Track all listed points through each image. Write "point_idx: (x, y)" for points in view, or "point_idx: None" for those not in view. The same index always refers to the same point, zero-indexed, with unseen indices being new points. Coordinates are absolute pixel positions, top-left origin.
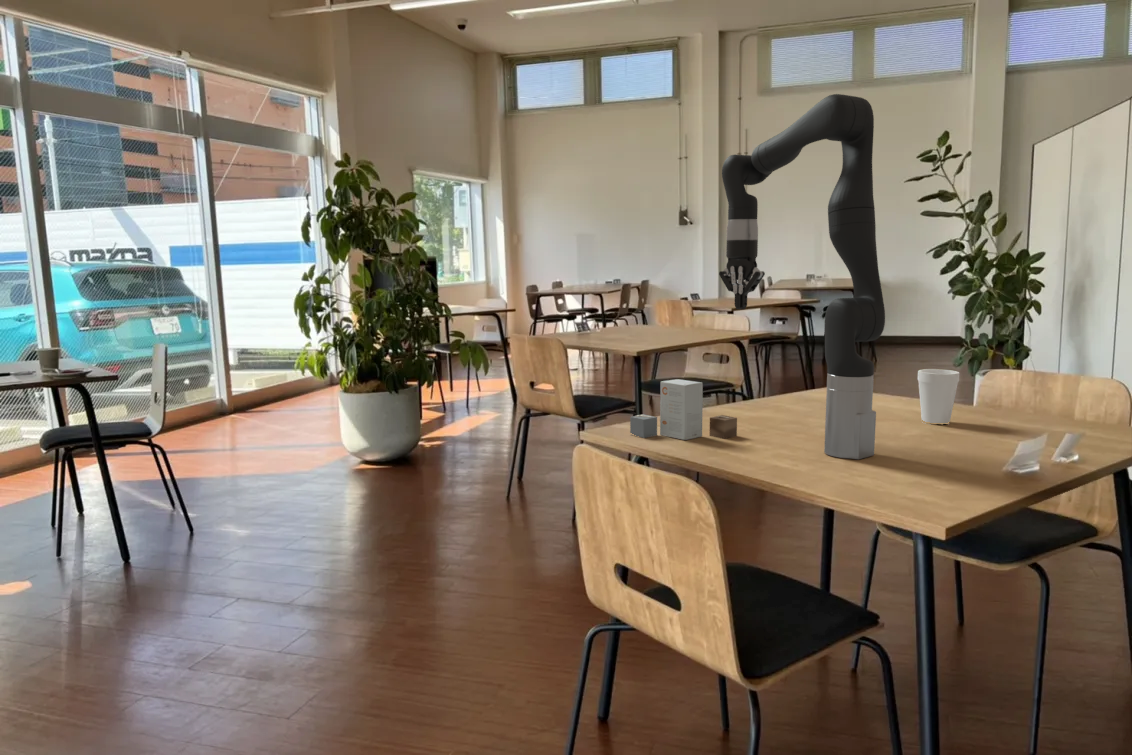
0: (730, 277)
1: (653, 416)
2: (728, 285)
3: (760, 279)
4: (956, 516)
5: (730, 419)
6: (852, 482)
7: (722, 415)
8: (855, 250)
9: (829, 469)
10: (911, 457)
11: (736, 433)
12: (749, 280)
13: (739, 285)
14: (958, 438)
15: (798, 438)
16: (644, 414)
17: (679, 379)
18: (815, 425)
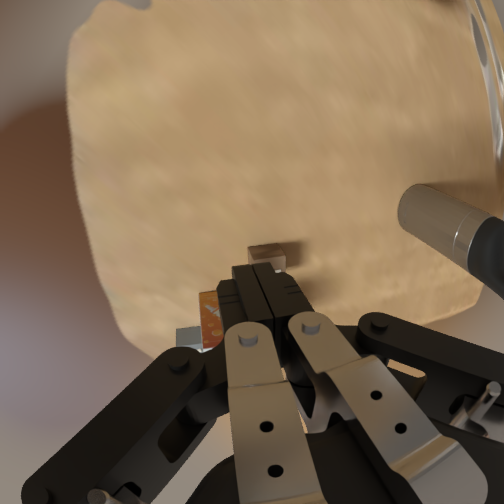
0: (121, 476)
1: (197, 344)
2: (185, 440)
3: (484, 360)
4: (481, 284)
5: (285, 270)
6: (439, 283)
7: (256, 262)
8: None
9: (420, 269)
10: (453, 169)
11: (278, 245)
12: (385, 392)
13: (308, 421)
14: (446, 47)
15: (345, 182)
16: (177, 346)
17: (208, 349)
18: (307, 78)
